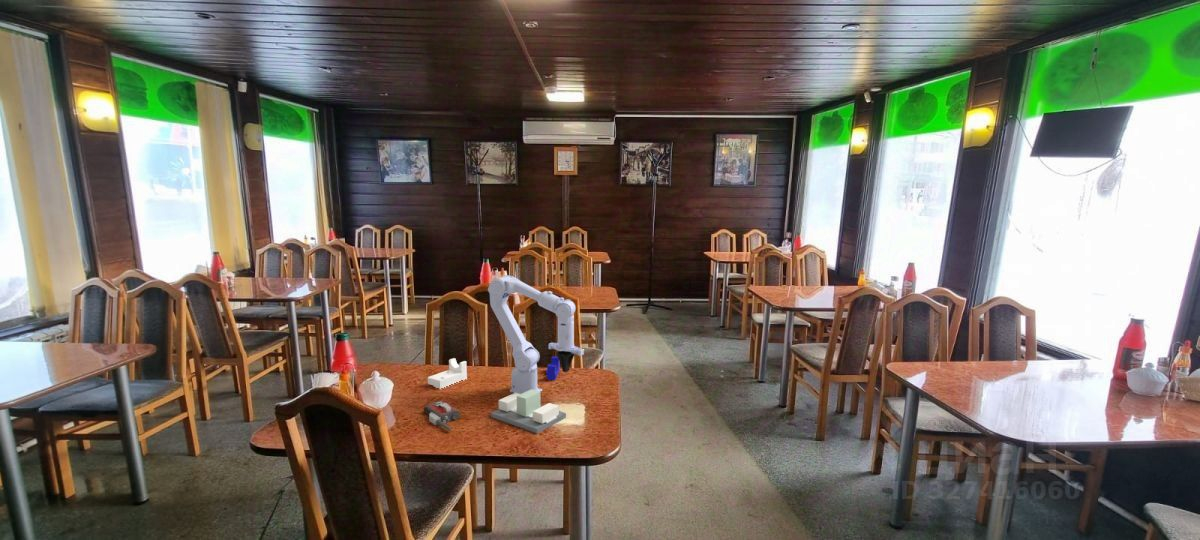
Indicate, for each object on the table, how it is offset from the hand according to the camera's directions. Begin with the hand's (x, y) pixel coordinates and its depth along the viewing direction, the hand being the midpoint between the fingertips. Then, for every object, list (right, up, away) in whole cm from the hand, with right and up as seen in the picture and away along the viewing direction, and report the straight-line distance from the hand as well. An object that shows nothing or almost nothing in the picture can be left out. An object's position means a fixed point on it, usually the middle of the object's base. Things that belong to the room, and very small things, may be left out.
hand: (565, 371), depth 180 cm
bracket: (-47, -8, +14) cm, 50 cm away
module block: (-11, -10, -17) cm, 22 cm away
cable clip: (-7, -7, +23) cm, 25 cm away
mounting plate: (-11, -12, -16) cm, 23 cm away
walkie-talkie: (-38, -12, -18) cm, 44 cm away
